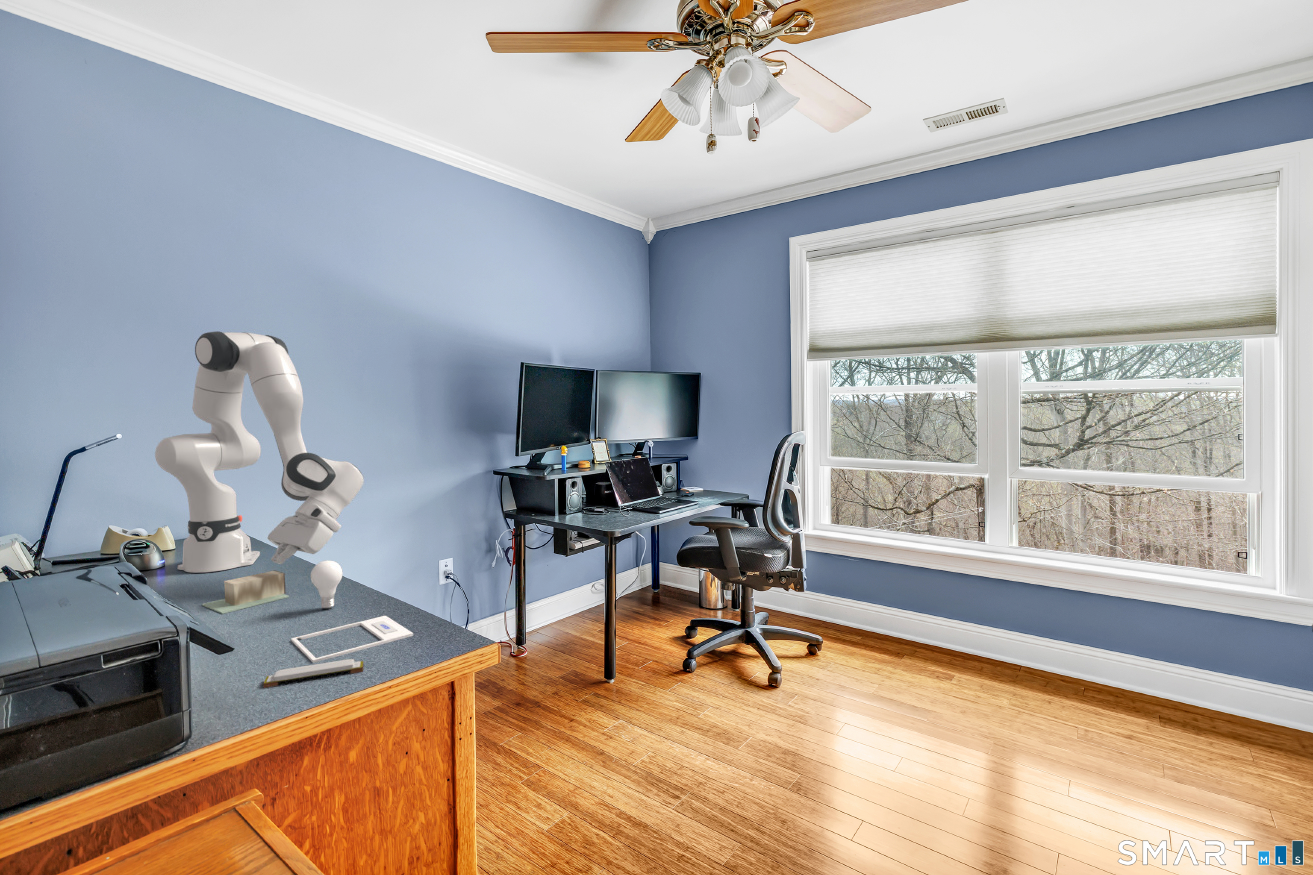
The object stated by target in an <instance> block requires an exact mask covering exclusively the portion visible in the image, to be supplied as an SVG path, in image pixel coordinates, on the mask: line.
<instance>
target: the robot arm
mask: <svg viewBox="0 0 1313 875" xmlns="http://www.w3.org/2000/svg"><path fill="white" fill-rule="evenodd" d="M194 355H195V358H196V361H197V362H198V363H199V366H198V369H197V372H196V376H195V383H194V391H193V399H192V412H193V414H194V415H195V416H196V418H198V419H199V420H202V422H205V423H208V424H209V425H210V426H211V431H210V432H208V433H184V434H178V435H177V434H176V435H173V436H169V437H165V438H163V439H162V440H161V441H160V442H158V444H157V446H156V449H155V452H154V456H155V460H156V463H157V465H158V466H159V467H160V468H161V469H162V471H163V470H164V471H165V472H166V473H168V474H170V475H172V476H173V477H175V478H176V480H178V482H180V484H181V485H182V487H183V489H184V490H185V493H186V495H187V496H186V497H187V502H188V509H189V510H188V511H189V521H187V529H188V530H187V531H188V532H187V533H188V534H189V535H188V537H186V538H185V539H184V540H183V544H182V548H183V549H182V564H179V565H177V570H180V571H184V572H186V573H197V574H198V573H211V572H219V571H225V570H231V569H235V568H238V567H244V566H245V567H246V566H250V565H253V564H254V563H255V561H256V560H257V559H258V558H259V557H260V555H261V552H260V551H258V550H252V545H251V538H250V537H249V536H248V535H247V534H246V533H245V532H244V531H243V530H242V529H241V523H242V522H243V516H242V514H240V515H238V511H237V510H238V509H237V506H238V505H237V493H236V491H235V490H234V489H233V487H231V486H230V485H228V484H225V483H222V482H220V481H218V480H217V478H216V477H215V471H227V470H228V471H229V470H238V469H241V468H246V467H248V466H252V465H255V464H256V463H257V462H258V461H259V459H260V457H261V452H262V447H261V443H260V442H259V440H258V439H257V438H256V437H255V436H254V435H253V434H252V433H250V432H249V431H248V430H247V429H246V427H245V425H244V423H243V420H242V403H243V402H242V401H243V394H244V393H243V392H244V385H245V377H246V375H248V379H249V383H250V385H251V386H250V387H251V389H252V391H253V394H254V397H255V400H256V401H257V403H258V406H259V408H260V409H261V411H262V413H263V415H264V416H265V419H266V420H267V421H266V422H267V423H268V425H269V426H270V429H271V430H272V434H273V436H274V439H275V442H276V446H277V449H278V452H279V456H280V459H281V462H282V467H283V471H282V477H281V489H282V491H283V493H284V494H285V495H286V496H287V497H288V498H290V499H292V500H295V501H298V502H299V501H300V502H301V501H302V502H303V503H302V504H300V506H299V507H298V508H297V510H296V511H295V512H294V513H295V514H294V515H292V516H288V517H285V518H284V519H282V520H281V521H280V522H279V523H278V524H277V525H276V526H275V528H273V529H272V530H271V531H270V532H269V534H268V535H267V540H268V541H269V542H270V543H272V544H273V545H275V546H277V548H276V550H275V553H274V554H273V555H272V557H271V558H270V560H271V562H273V563H275V564H279V565H283V564H284V563H285V562H286V561H287V560H289V558H291V557H292V556H294V555H295V554H296V553H297V552H301V553H305V554H310V555H315V554H316V553H318V552H320V551H321V550H322V549H323V548H324V546H325V545H326V544H328V542H329V540H330V539H332V537H333V535H334V533H337V532H339V530H340V529H341V527H342V525H341V524H340V523H339V522H338V520H337V519H338V518H339V516H340V514H342V513H341V512H342V511H343V510H344V509H345V508H346V507H347V506H349V505H350V504H351V502H352V501H353V500H354V499H355V498H356V496H357V495H358V493H359V492H360V490H361V489H362V487H363V485H364V482H365V480H364V475H363V474H362V472H361V470H360V469H359V468H358V467H357V466H356V465H354V464H353V463H351V462H349V461H346V460H344V461H337V460H332V459H328V458H324V457H321V456H320V455H318V454H316V453H312V452H308V451H307V448H306V444H305V442H304V439H303V434H302V430H301V421H302V420H301V419H302V412H303V407H304V394H303V387H302V383H301V380H300V377H299V375H298V371H297V369H296V367H295V364H294V363H293V361H292V359H291V357H290V355H289V349H288V347H287V345H286V343H285V342H284V341H283V340H282V339H281V338H278V337H276V336H274V335H268V334H265V335H263V334H259V333H253V332H246V331H245V332H237V331H236V332H231V331H228V332H226V331H225V332H222V331H208V332H204V333H202V334H201V335H200V336H199V337H198V339H197V340H196V343H195V345H194Z"/></svg>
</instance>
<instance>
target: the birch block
mask: <svg viewBox="0 0 1313 875" xmlns="http://www.w3.org/2000/svg"><path fill="white" fill-rule="evenodd" d="M223 582H224V585H223V586H224V599H225V602H226V603H229V604H231V605H234V606H236V605H240V604H244V603H248V602H252V601H256V600H260V599H264V598H268V597H272V596H277V595H281V594H285V595H286V574H285V573H284V572H282V571H278V570H271V571H270V570H269V571H265V572H261V573H257V574H251V575H247V576H243V577H238V578H237V577H236V578H233V579H228V580H224V581H223Z"/></svg>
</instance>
